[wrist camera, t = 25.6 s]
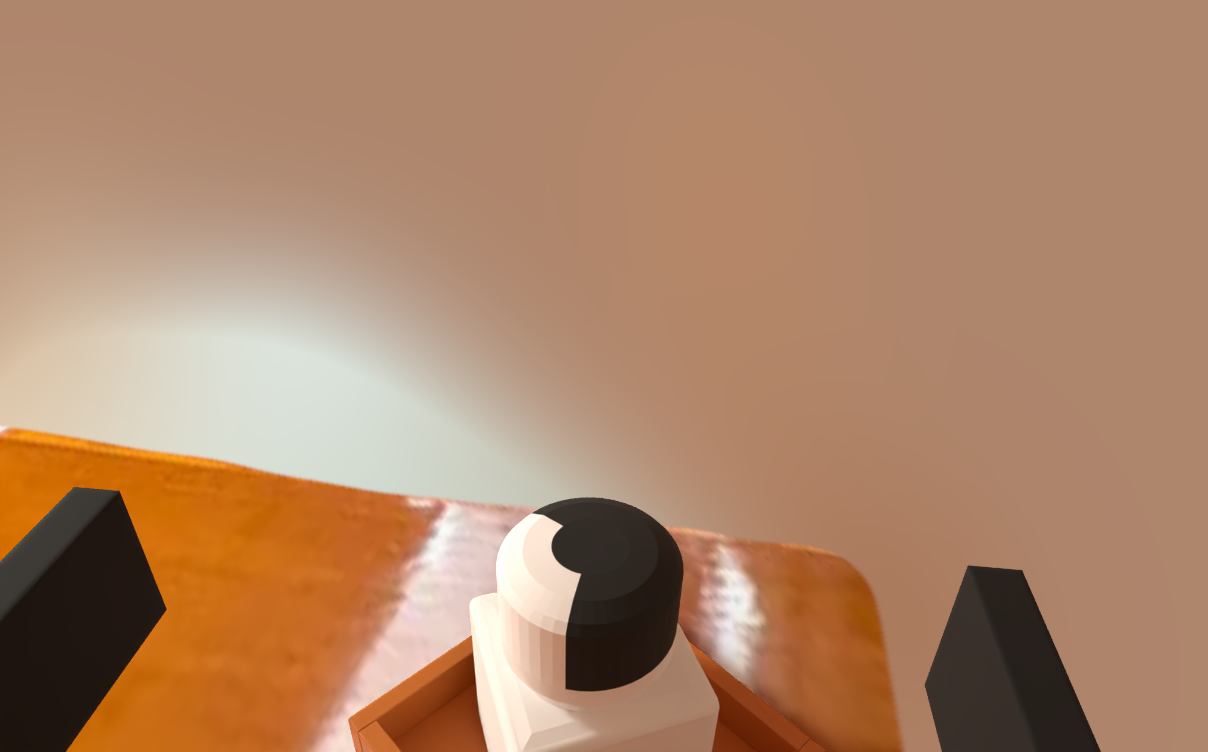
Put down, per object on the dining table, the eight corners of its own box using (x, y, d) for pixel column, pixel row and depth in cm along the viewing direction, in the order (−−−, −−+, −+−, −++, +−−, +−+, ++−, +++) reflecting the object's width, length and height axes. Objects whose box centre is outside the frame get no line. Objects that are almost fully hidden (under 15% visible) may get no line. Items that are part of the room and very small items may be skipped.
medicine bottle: (636, 668, 36) (653, 457, 30) (703, 820, 31) (742, 602, 24) (477, 712, 34) (458, 495, 28) (518, 884, 29) (506, 664, 22)
